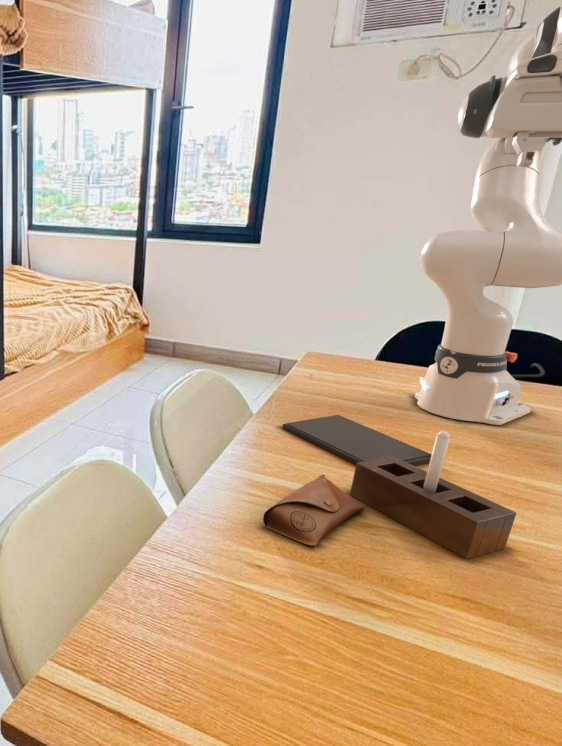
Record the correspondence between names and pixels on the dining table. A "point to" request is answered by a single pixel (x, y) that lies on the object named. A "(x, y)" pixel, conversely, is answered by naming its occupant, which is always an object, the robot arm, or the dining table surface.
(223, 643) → the dining table surface
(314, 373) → the dining table surface
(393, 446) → the tablet
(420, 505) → the pen holder
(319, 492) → the sunglasses case
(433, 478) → the stylus
